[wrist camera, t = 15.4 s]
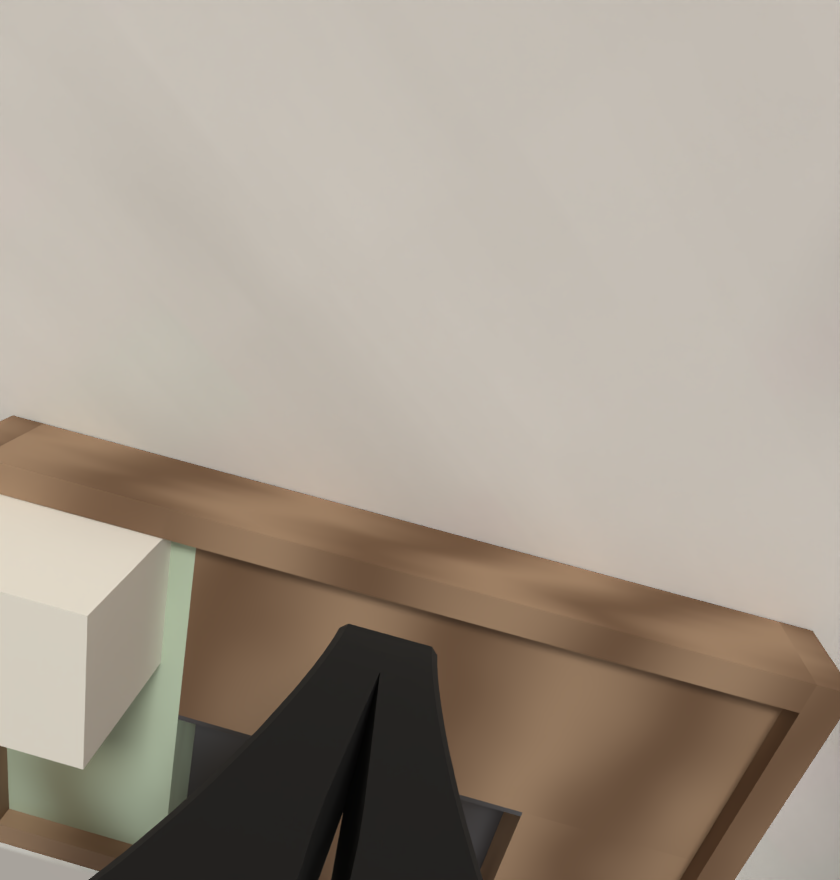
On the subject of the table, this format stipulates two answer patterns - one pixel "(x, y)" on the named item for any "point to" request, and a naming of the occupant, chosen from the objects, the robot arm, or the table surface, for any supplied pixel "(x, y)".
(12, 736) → the cream block
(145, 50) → the table surface
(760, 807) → the tray
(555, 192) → the table surface
